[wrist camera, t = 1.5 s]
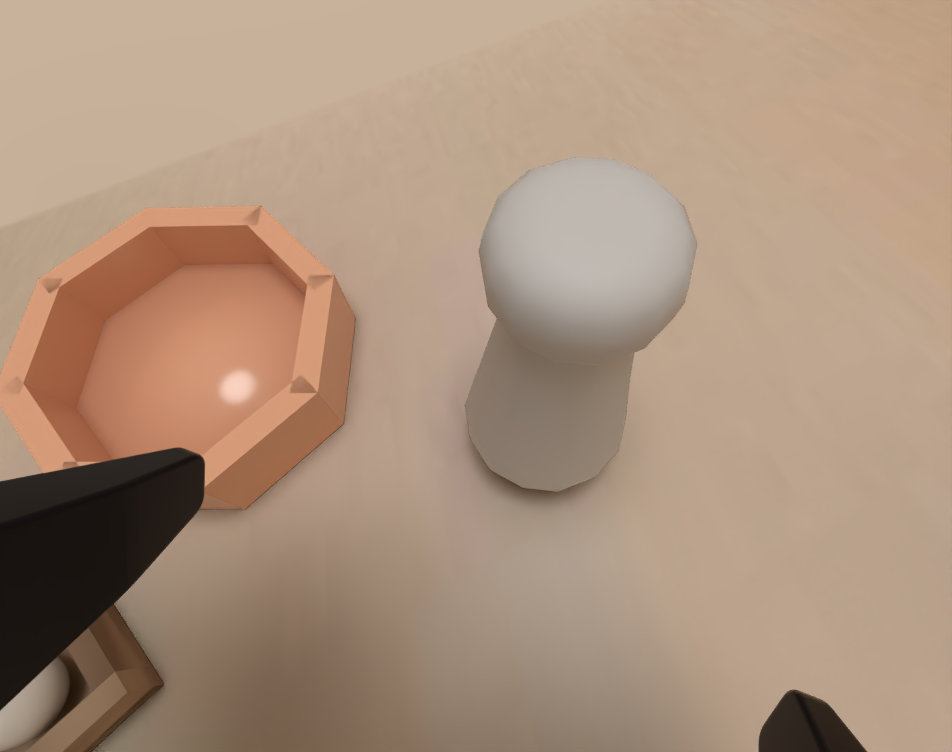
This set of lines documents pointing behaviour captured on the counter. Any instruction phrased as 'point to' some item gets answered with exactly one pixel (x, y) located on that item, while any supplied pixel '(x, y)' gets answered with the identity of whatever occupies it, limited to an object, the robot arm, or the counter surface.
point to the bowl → (184, 350)
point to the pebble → (35, 706)
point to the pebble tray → (98, 687)
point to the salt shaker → (572, 314)
